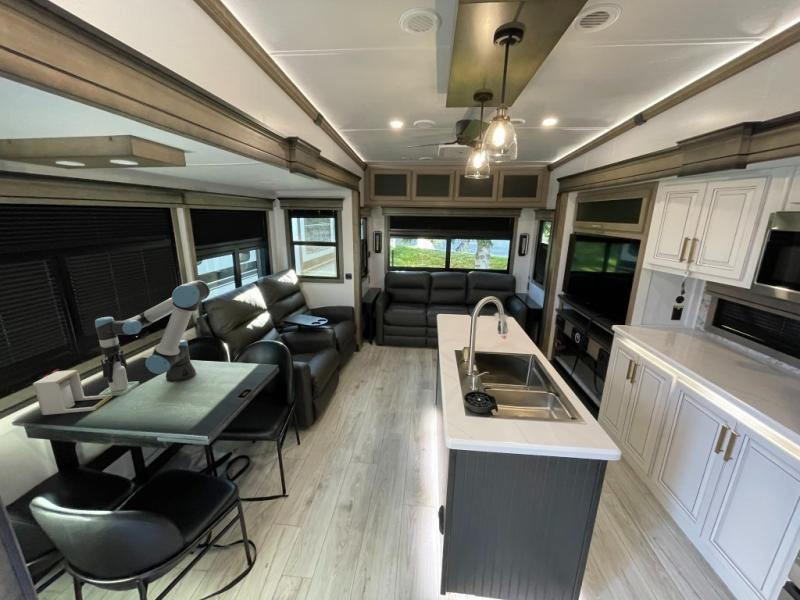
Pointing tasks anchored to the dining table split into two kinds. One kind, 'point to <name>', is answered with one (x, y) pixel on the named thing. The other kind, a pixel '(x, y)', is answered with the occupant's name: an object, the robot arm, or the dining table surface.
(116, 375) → the pill bottle
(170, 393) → the dining table surface
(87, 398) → the dispenser
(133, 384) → the tray
